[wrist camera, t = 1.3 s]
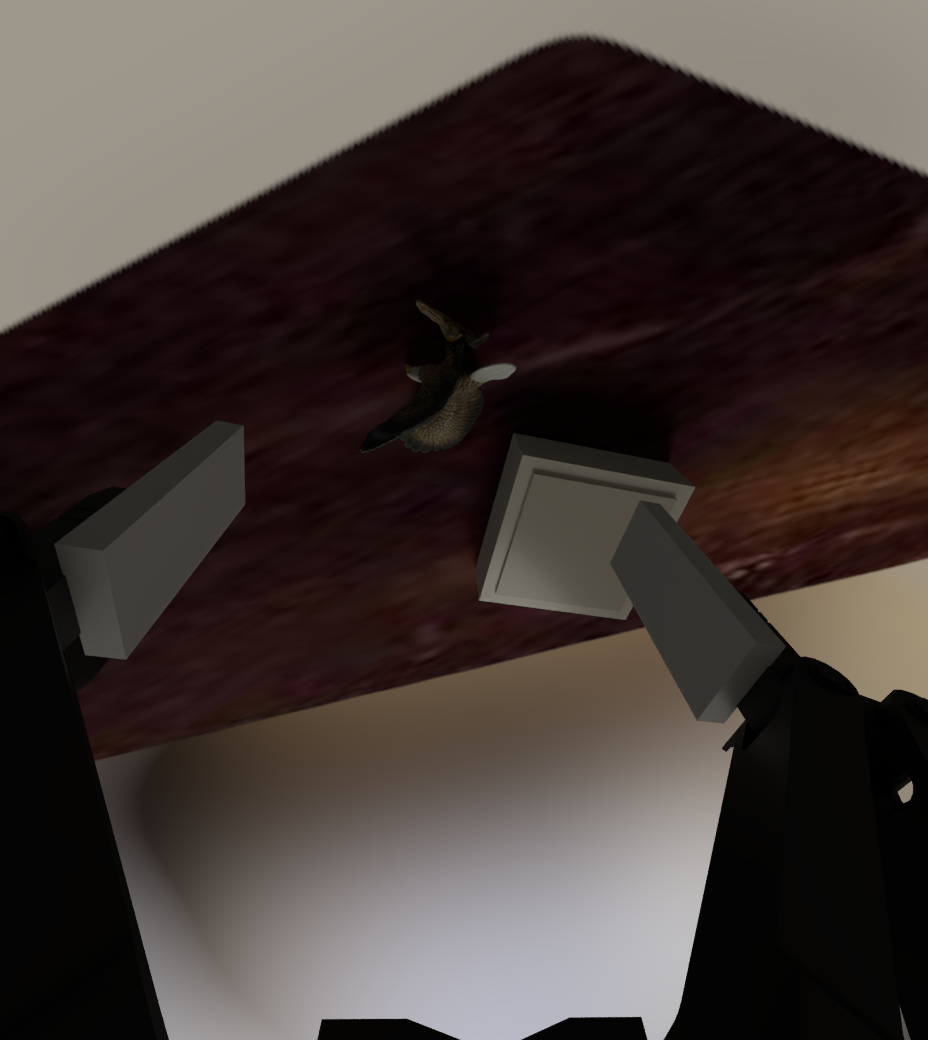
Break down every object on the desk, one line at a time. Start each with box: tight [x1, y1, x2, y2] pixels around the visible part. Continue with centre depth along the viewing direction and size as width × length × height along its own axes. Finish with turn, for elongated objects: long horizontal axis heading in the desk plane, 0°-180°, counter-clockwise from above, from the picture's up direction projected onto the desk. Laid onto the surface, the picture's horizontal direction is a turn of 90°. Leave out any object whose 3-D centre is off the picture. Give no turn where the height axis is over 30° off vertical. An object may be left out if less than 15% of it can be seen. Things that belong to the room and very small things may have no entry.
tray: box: [475, 433, 695, 620], centre depth 33 cm, size 12×12×4 cm
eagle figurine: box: [359, 299, 516, 453], centre depth 27 cm, size 8×7×9 cm
